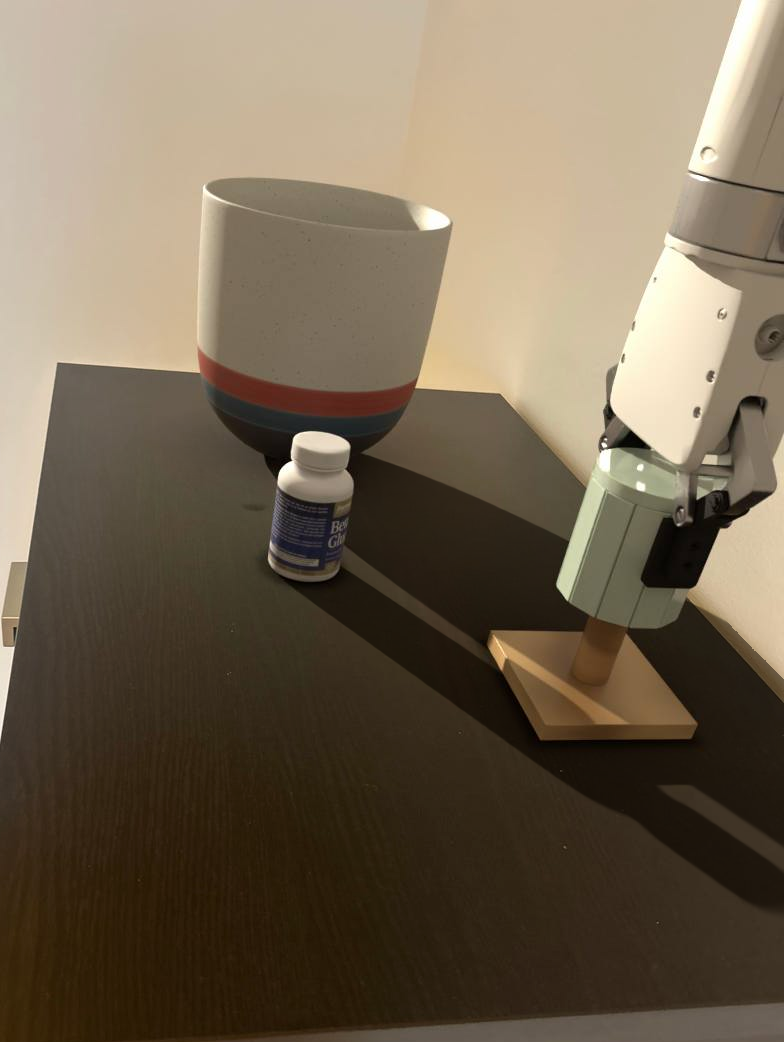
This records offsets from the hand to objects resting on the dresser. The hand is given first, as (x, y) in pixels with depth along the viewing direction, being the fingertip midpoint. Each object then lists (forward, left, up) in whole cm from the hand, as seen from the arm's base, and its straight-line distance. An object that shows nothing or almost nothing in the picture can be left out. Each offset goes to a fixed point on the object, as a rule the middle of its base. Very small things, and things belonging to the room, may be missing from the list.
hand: (634, 548), depth 55 cm
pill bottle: (+16, -15, -11) cm, 24 cm away
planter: (+13, -37, -11) cm, 41 cm away
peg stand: (0, 0, -10) cm, 10 cm away
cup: (0, 0, -3) cm, 3 cm away
